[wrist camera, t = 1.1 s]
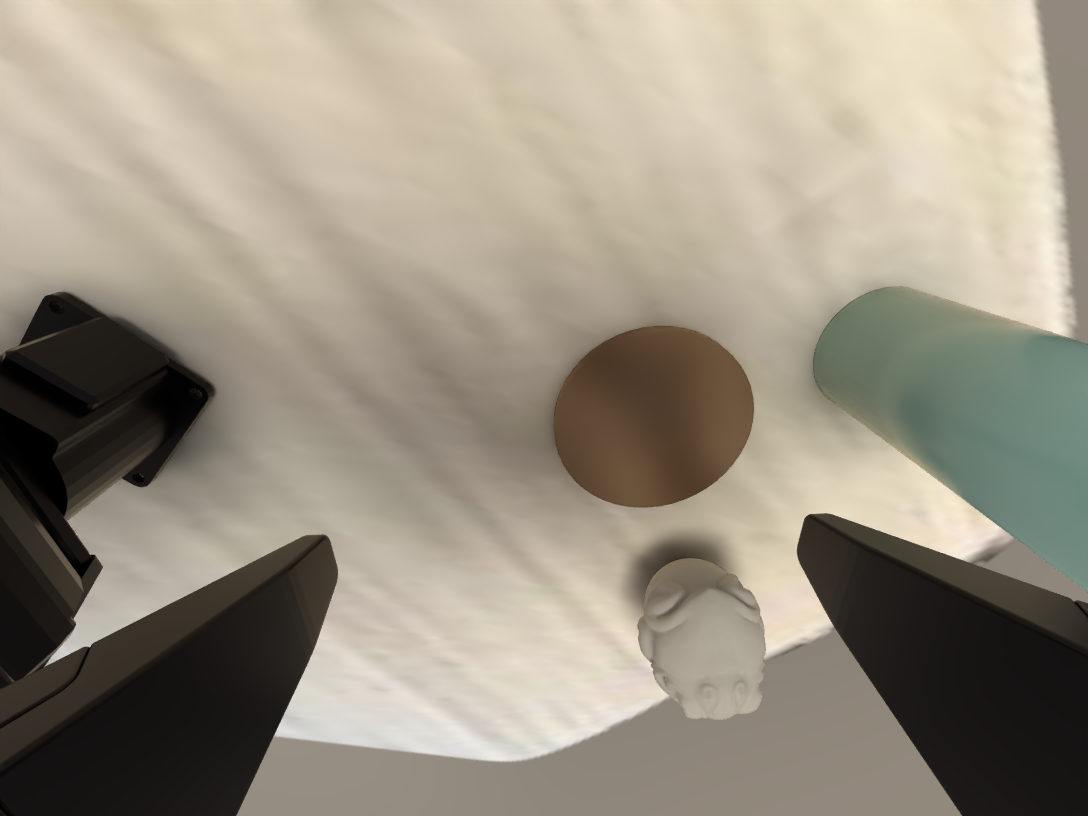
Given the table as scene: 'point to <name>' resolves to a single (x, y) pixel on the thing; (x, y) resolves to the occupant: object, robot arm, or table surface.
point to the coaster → (653, 416)
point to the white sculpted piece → (703, 639)
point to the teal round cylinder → (972, 409)
